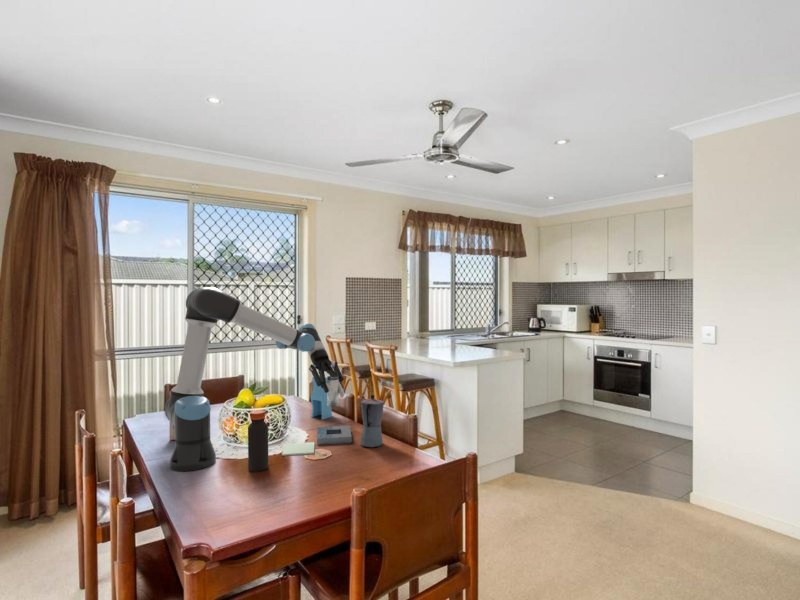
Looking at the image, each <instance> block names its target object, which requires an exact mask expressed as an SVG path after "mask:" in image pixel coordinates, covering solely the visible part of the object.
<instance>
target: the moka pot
mask: <svg viewBox="0 0 800 600" xmlns="http://www.w3.org/2000/svg"><path fill="white" fill-rule="evenodd" d="M384 404H385V402H384V401H383V400H381V399H377V398H375V394H370V398H368V399H364V400H361V401H360V407H361V416H362V421H363V423H362V425H363V427H362V432H361V439H360V445H361V446H362V447H367V448H377V447H381V446H383V443H384V442H383V434H382V426H381V425H382V419H383V412H384V406H385V405H384Z"/></svg>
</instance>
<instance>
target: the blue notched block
mask: <svg viewBox="0 0 800 600" xmlns="http://www.w3.org/2000/svg"><path fill="white" fill-rule="evenodd" d="M319 377H320V374H319ZM327 377H328V376H325V379H326V384H327ZM311 378H312V379H311V380H312V385H313V386H312V387H313V388H312V393H311V396H310V402H311V407H312V410H311V416H310V418H316V417H318V416H321V420H325V419H328V418H332V417H333V412H332V407H331V406H327V393H325V391H324V389H323V388H321V386H317V384H316V382H315V379H314V377H313V376H311Z"/></svg>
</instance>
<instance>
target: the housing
mask: <svg viewBox="0 0 800 600" xmlns="http://www.w3.org/2000/svg"><path fill="white" fill-rule="evenodd" d="M316 432H317V433H316V445H317V446H321V445H322V446H323V445H324V446H325V445H339V444H352V442H353V441H352V439H353V438H352V436H353V435H352V432H351V426H350V425H336V426H335V425H333V426H318V427H317V430H316Z"/></svg>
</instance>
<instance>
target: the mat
mask: <svg viewBox="0 0 800 600" xmlns="http://www.w3.org/2000/svg"><path fill="white" fill-rule="evenodd" d="M315 443H316V442H315V441H312V442H311V441H310V442H309V441H308V442H292V443H284V444H283V448H282V453H281V457H282V456H284V457H285V456H299V455H301V456H302V455H314V454H315V447H316V446H315Z"/></svg>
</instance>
